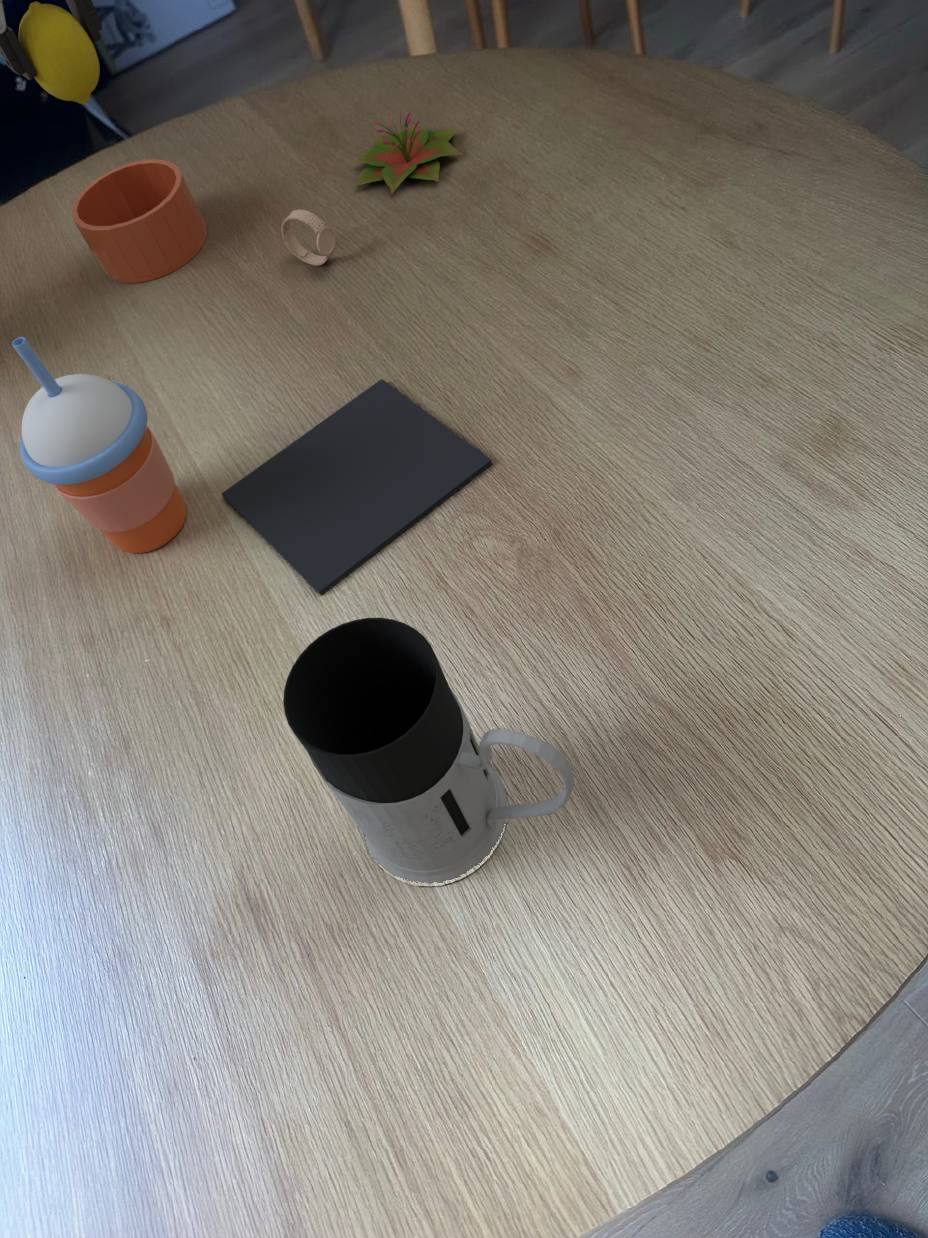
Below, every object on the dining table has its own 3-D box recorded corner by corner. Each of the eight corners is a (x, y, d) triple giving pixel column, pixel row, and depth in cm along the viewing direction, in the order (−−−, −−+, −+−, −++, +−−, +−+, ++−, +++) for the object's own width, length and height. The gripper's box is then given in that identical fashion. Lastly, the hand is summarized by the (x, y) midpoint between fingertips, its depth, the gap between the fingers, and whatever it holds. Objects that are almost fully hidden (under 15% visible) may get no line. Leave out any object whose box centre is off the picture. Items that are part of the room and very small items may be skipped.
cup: (132, 298, 95) (101, 244, 90) (85, 256, 101) (53, 204, 96) (227, 237, 98) (201, 181, 93) (175, 200, 104) (148, 146, 99)
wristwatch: (328, 273, 91) (310, 225, 87) (288, 265, 93) (268, 218, 89) (344, 255, 92) (327, 207, 88) (304, 248, 94) (285, 200, 90)
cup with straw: (201, 557, 73) (74, 373, 59) (87, 580, 75) (-64, 405, 60) (209, 469, 79) (95, 281, 64) (103, 492, 80) (-32, 312, 65)
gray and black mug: (399, 731, 61) (321, 591, 49) (619, 793, 56) (592, 652, 44) (338, 860, 57) (237, 742, 45) (569, 940, 52) (524, 830, 40)
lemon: (95, 121, 81) (41, 19, 75) (42, 121, 83) (-14, 22, 77) (128, 84, 84) (79, -18, 77) (76, 85, 86) (25, -14, 79)
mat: (321, 596, 69) (318, 591, 68) (223, 497, 77) (221, 493, 76) (492, 464, 73) (491, 459, 72) (383, 382, 80) (381, 378, 80)
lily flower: (478, 124, 100) (469, 78, 96) (451, 195, 93) (440, 150, 90) (368, 133, 103) (355, 89, 100) (335, 202, 97) (320, 159, 93)
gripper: (-1, -245, 70) (115, 6, 84) (-183, -158, 67) (-32, 88, 81) (41, -237, 66) (155, 26, 80) (-151, -144, 63) (3, 113, 76)
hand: (61, 56), depth 80 cm, fingers closed on lemon, 5 cm apart
